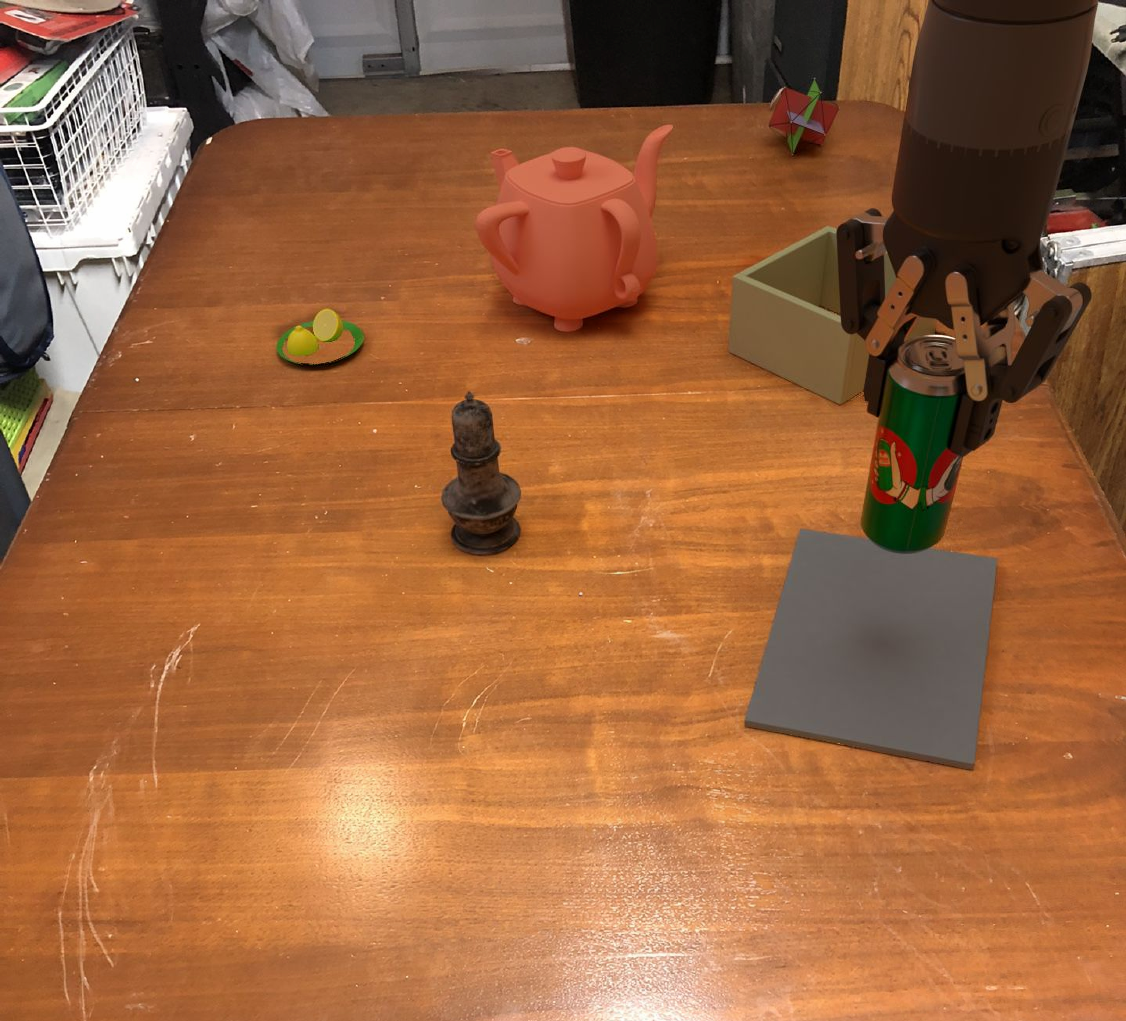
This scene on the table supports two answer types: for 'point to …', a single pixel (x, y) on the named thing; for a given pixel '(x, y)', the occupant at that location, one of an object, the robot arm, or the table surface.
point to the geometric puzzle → (802, 115)
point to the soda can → (915, 447)
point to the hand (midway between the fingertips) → (923, 428)
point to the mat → (878, 649)
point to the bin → (803, 319)
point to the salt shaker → (480, 484)
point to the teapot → (574, 230)
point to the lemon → (317, 335)
